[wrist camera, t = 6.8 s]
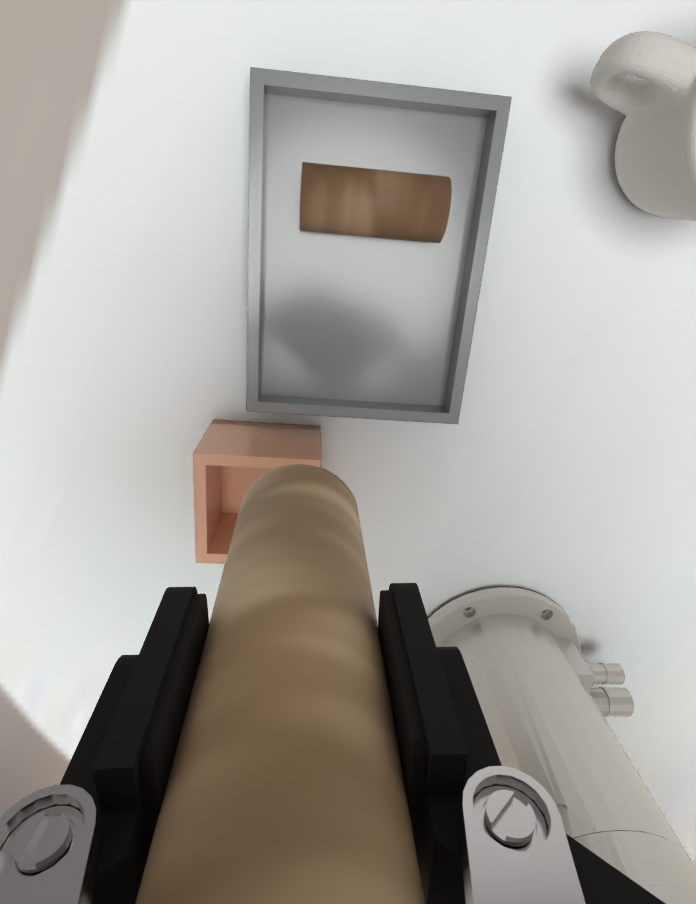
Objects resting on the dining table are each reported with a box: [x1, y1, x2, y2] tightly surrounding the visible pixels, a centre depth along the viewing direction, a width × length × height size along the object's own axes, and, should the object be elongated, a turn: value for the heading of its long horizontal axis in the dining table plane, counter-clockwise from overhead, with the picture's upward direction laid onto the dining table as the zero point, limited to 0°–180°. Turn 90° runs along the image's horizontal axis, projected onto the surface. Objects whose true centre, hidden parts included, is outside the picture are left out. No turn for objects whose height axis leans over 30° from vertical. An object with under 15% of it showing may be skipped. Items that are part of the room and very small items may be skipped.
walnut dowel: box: [299, 162, 452, 243], centre depth 26 cm, size 7×3×3 cm
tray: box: [246, 67, 512, 424], centre depth 28 cm, size 12×16×2 cm
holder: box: [193, 420, 321, 564], centre depth 30 cm, size 6×6×6 cm
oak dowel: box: [135, 464, 425, 904], centre depth 10 cm, size 4×4×12 cm
